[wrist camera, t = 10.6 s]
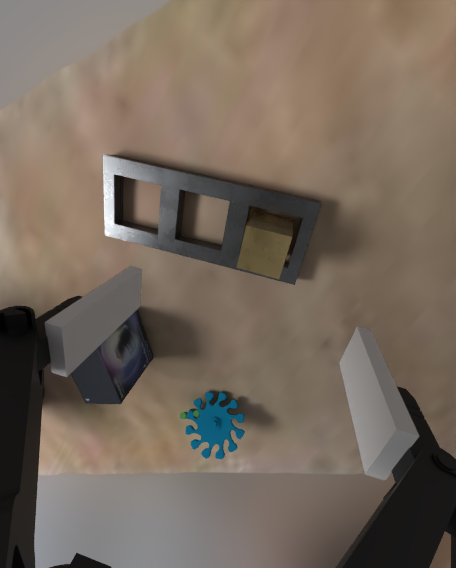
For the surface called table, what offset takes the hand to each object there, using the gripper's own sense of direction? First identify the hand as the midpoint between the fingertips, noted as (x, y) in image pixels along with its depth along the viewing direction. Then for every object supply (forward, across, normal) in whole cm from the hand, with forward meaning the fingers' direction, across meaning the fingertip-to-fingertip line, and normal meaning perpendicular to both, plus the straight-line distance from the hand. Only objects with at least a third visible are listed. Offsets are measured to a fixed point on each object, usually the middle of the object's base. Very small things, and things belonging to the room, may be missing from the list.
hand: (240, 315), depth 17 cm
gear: (+20, -1, -32) cm, 38 cm away
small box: (+20, -18, -22) cm, 35 cm away
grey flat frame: (+20, -8, 0) cm, 21 cm away
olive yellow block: (+20, 0, 0) cm, 20 cm away
